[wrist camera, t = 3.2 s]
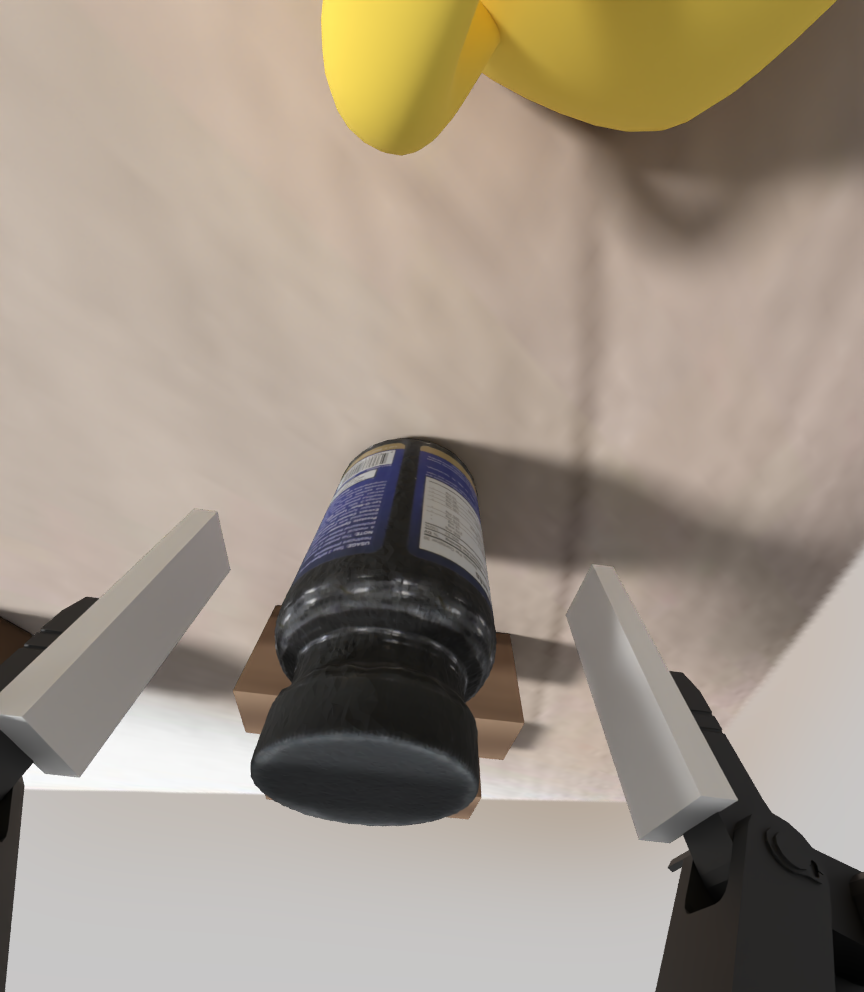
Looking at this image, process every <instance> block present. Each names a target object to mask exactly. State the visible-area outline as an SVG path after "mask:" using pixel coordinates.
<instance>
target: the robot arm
mask: <svg viewBox="0 0 864 992" xmlns="http://www.w3.org/2000/svg"><path fill="white" fill-rule="evenodd" d="M229 571H230V565H229V561H228V557H227V552H226V548H225V543H224V539H223V534H222V530H221V525H220V521H219V517H218V512H216V511H209V510H202V509H194V510H192V511H191V512H190V513H189V514H188V515H187V516H186V517H185V518H184V519H183V520H182V521H181V522H180V523H179V524H178V525H177V526H176V527H175V528H173V529H172V530H171V531H170V532H169V533H168V534H167V535H166V536H165V537H164V538H163V539H162V540H161V541H160V542H159V543H158V544H157V545H155V546H154V547H153V548H152V549H151V550H150V551H149V552H148V553H147V554H146V555H145V556H144V557H143V558H142V559H141V560H140V561H139V562H137V563H136V564H135V565H134V566H133V567H132V568H131V569H130V570H129V571H128V572H127V573H126V574H125V575H124V576H123V577H122V578H121V579H119V580H118V581H117V582H116V583H115V584H114V585H113V586H112V587H111V588H110V589H109V590H108V591H107V592H106V593H105V594H104V595H103V596H102V597H100V598H93V597H85V598H83V599H82V600H80V601H78V602H76V603H74V604H73V605H71V606H69V607H67V608H66V609H64V610H62V611H61V612H60V613H59V614H57V615H56V616H55V617H54V618H53V619H52V620H51V621H49V622H48V623H47V624H46V625H45V626H44V627H43V628H42V629H41V631H40V632H39V633H36V634H35V635H34V636H33V637H31V638H30V639H29V640H28V641H27V642H26V643H25V644H24V647H23V648H19V649H18V650H17V651H16V652H14V653H13V654H12V655H11V656H10V657H9V658H8V659H7V660H5V661H4V662H3V663H2V664H1V665H0V992H5V983H6V974H7V962H8V953H9V952H8V951H9V942H10V932H11V921H12V911H13V900H14V890H15V879H16V868H17V858H18V848H19V837H20V827H21V815H22V806H23V795H24V782H23V778H22V775H23V774H24V773H25V772H26V770H27V769H28V768H29V767H30V766H31V765H32V763H34V764H35V765H36V766H37V767H38V768H39V769H41V770H42V771H43V772H44V773H45V774H52V775H61V776H70V777H79V778H80V776H81V775H82V774H83V772H84V771H85V769H86V768H87V767H88V765H89V764H90V763H91V761H92V760H93V758H94V757H95V756H96V754H97V753H98V751H99V750H100V749H101V747H102V746H103V745H104V743H105V742H106V740H107V739H108V738H109V736H110V735H111V734H112V732H113V731H114V729H115V728H116V727H117V725H118V724H119V723H120V721H121V720H122V718H123V717H124V716H125V714H126V713H127V712H128V710H129V709H130V707H131V706H132V705H133V703H134V702H135V701H136V699H137V698H138V696H139V695H140V694H141V692H142V691H143V690H144V688H145V687H146V685H147V684H148V683H149V681H150V680H151V679H152V677H153V676H154V674H155V673H156V672H157V670H158V669H159V668H160V666H161V665H162V663H163V662H164V661H165V659H166V658H167V657H168V655H169V654H170V652H171V651H172V650H173V648H174V647H175V646H176V644H177V643H178V641H179V640H180V639H181V637H182V636H183V635H184V633H185V632H186V630H187V629H188V628H189V626H190V625H191V624H192V622H193V621H194V619H195V618H196V617H197V615H198V614H199V613H200V611H201V610H202V608H203V607H204V606H205V604H206V603H207V602H208V600H209V599H210V597H211V596H212V595H213V593H214V592H215V591H216V589H217V588H218V586H219V585H220V584H221V582H222V581H223V580H224V578H225V577H226V575H227V574H228V573H229ZM566 617H567V620H568V623H569V626H570V629H571V632H572V635H573V638H574V641H575V645H576V648H577V651H578V654H579V657H580V660H581V663H582V666H583V669H584V672H585V675H586V678H587V681H588V684H589V688H590V691H591V694H592V697H593V700H594V703H595V706H596V709H597V712H598V715H599V718H600V721H601V724H602V727H603V731H604V734H605V737H606V740H607V743H608V746H609V749H610V752H611V755H612V758H613V761H614V764H615V767H616V770H617V774H618V777H619V780H620V783H621V786H622V789H623V792H624V795H625V798H626V801H627V804H628V807H629V810H630V813H631V816H632V819H633V823H634V826H635V829H636V832H637V835H638V838H639V840H645V841H654V842H664V843H671V842H673V841H674V840H676V839H677V838H679V837H680V836H682V835H683V836H684V838H685V841H686V843H687V845H688V848H689V850H688V851H687V852H685V853H683V854H681V855H680V856H678V857H677V858H675V859H673V860H672V861H671V863H670V865H669V866H668V868H669V869H670V870H671V871H672V872H674V871H676V870H678V869H679V868H681V867H682V870H681V874H680V879H679V884H678V888H677V893H676V898H675V902H674V907H673V912H672V916H671V921H670V926H669V931H668V935H667V940H666V945H665V949H664V954H663V959H662V963H661V968H660V973H659V978H658V982H657V987H656V991H655V992H864V872H861V871H859V870H857V869H854V868H852V867H850V866H848V865H846V864H844V863H842V862H840V861H838V860H836V859H833V858H832V857H829V856H827V855H825V854H823V853H821V852H819V851H817V850H815V849H813V848H812V847H811V846H810V844H809V843H808V842H807V841H806V840H805V838H804V837H803V836H802V835H801V834H800V833H799V832H798V831H797V830H796V829H794V828H793V827H792V826H791V825H790V824H789V823H788V822H786V821H785V820H783V819H781V818H780V817H778V816H776V815H775V814H773V813H772V812H771V811H770V810H769V808H768V806H767V805H766V803H765V802H764V800H763V799H762V797H761V796H760V794H759V792H758V790H757V789H756V787H755V785H754V784H753V782H752V780H751V778H750V777H749V775H748V773H747V771H746V770H745V768H744V766H743V765H742V763H741V761H740V759H739V758H738V756H737V754H736V752H735V751H734V749H733V747H732V746H731V744H730V742H729V740H728V739H727V737H726V735H725V734H723V733H722V728H721V727H720V725H719V723H718V722H717V720H716V718H715V716H712V711H711V710H710V708H709V706H708V704H707V703H706V701H705V699H704V697H703V696H702V694H701V692H700V691H699V690H698V689H697V688H696V687H695V685H694V684H693V683H692V682H691V681H690V680H689V679H688V678H687V677H686V676H685V675H684V674H683V673H681V672H673V671H669V670H668V668H667V666H666V665H665V663H664V661H663V659H662V657H661V655H660V653H659V651H658V650H657V648H656V646H655V644H654V642H653V640H652V638H651V636H650V635H649V633H648V631H647V629H646V627H645V625H644V623H643V622H642V620H641V618H640V616H639V614H638V612H637V610H636V608H635V607H634V605H633V603H632V601H631V599H630V597H629V595H628V593H627V592H626V590H625V588H624V586H623V584H622V582H621V580H620V578H619V577H618V575H617V573H616V571H615V569H614V567H612V566H605V565H597V564H592V565H591V567H590V569H589V571H588V573H587V575H586V577H585V579H584V581H583V582H582V584H581V586H580V588H579V590H578V592H577V594H576V596H575V598H574V600H573V602H572V604H571V606H570V607H569V609H568V611H567V613H566Z"/></svg>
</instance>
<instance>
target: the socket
mask: <svg viewBox="0 0 864 992" xmlns="http://www.w3.org/2000/svg"><path fill="white" fill-rule="evenodd" d="M280 609H281V606H275V608H274V610H273V612H272V614H271V616H270V618H269V620H268V622H267V624H266V626H265V628H264V630H263V632H262V634H261V636H260V638H259V640H258V642H257V644H256V646H255V648H254V650H253V652H252V654H251V656H250V658H249V660H248V662H247V664H246V666H245V668H244V670H243V672H242V674H241V676H240V678H239V680H238V682H237V684H236V686H235V688H234V690H233V693H234V696H235V699H236V702H237V705H238V709H239V712H240V715H241V718H242V722H243V725H244V728H245V731H246V732H247V733H257V734H261V731H262V729H263V726H264V724H265V721H266V717H267V715H268V712H269V710H270V708H271V706H272V703H273V702H274V701H275V698H276V697H277V696H278V695H279V693H280V691H281V690H282V689H284V688H286V687H289V686H290V685H291V682H290V680H289V679H288V678H287V677H286V675H285V674H284V672H283V670H282V668H281V666H280V663H279V660H278V657H277V654H276V648H275V637H274V636H275V627H276V620H277V616H278V614H279V611H280ZM496 641H497V644H496V654H495V661H494V664H493V667H492V670H491V671H490V675H489V677H488V678H487V679H486V681H485V682H484V685H483V686H482V688H480V690H479V691H478V692H477V693H476V695H475V696H474V697H472V698H471V699H470V700H469V701H467V702H466V704H467V706H468V707H469V709H470V711H471V712H472V714H473V716H474V718H475V721H476V727H477V730H478V754H479V757H480V758H489V759H499V760H503V759H504V758H505V756H506V754H507V752H508V751H509V749H510V747H511V746H512V744H513V742H514V740H515V739H516V737H517V735H518V733H519V732H520V730H521V728H522V727H523V725H524V718H523V712H522V706H521V700H520V694H519V687H518V681H517V675H516V669H515V663H514V657H513V650H512V644H511V638H510V634H504V633H496ZM479 774H480V766H479ZM265 796H266V795H265ZM266 799H269V800H272V799H271V798H269V797H268V796H266ZM480 799H481V783H480V780H479V790H478V793H477V795H476V797H475V799H474V800H473V802H471V803H470V804H469V806H468V807H466V808H465V809H463V810H461V811H459V812H458V813H457V814H453V815H451V816H449V817H450V818H460V819H469V818H470V816H471V814H472V813H473V811H474V809H475V807H476V806H477V804H478V802H479V801H480Z"/></svg>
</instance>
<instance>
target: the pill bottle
mask: <svg viewBox="0 0 864 992" xmlns="http://www.w3.org/2000/svg"><path fill="white" fill-rule="evenodd" d="M274 637H275V648H276V654H277V657H278V660H279V663H280V666H281V668H282V670H283V672H284V674H285V675H286V677H287V678H288V679H289V680H290V682H291V685H290V686H289V687H286V688H284V689H282V690H281V691H280V693H279V695H278V696H277V697H276V698H275V701H274V702H273V703H272V706H271V708H270V710H269V712H268V715H267V717H266V721H265V724H264V726H263V729H262V731H261V734H260V737H259V740H258V743H257V746H256V748H255V750H254V754H253V757H252V760H251V778H252V779H253V781H254V784H255V785H256V786H257V787H258V788H259V789H260V790H261V792H263V793H264V794H265V795H266V796H268V797H269V798H271V799H272V800H274V801H275V802H278V803H280V804H281V805H283V806H286V807H289V808H290V809H293V810H296V811H298V812H301V813H303V814H305V815H309V816H313V817H317V818H321V819H325V820H330V821H337V822H342V823H348V824H361V825H367V826H402V825H412V824H421V823H426V822H432V821H434V820H439V819H441V818H444V817H449V816H451V815H453V814H457V813H458V812H459V811H461V810H463V809H465V808H466V807H468V806H469V804H470V803H471V802H473V800H474V799H475V797H476V795H477V793H478V790H479V780H480V774H479V754H478V730H477V727H476V721H475V718H474V716H473V714H472V712H471V711H470V709H469V707H468V706H467V704H466V702H467V701H469V700H470V699H471V698H472V697H474V696H475V695H476V693H477V692H478V691H479V690H480V688H482V686H483V685H484V682H485V681H486V679H487V678H488V677H489V675H490V671H491V670H492V667H493V664H494V661H495V654H496V644H497V641H496V630H495V625H494V617H493V610H492V602H491V596H490V588H489V581H488V573H487V566H486V559H485V551H484V544H483V536H482V529H481V522H480V514H479V507H478V500H477V491H476V487H475V484H474V480H473V478H472V476H471V474H470V472H469V471H468V469H467V468H466V466H465V465H464V464H463V463H462V462H461V461H460V460H459V458H458V457H456V456H455V454H454V453H452V452H451V451H449V450H447V449H445V448H443V447H441V446H439V445H437V444H434V443H431V442H426V441H421V440H416V439H401V438H400V439H393V440H387V441H384V442H381V443H378V444H375V445H373V446H371V447H369V448H368V449H366V450H365V451H363V452H362V453H361V454H360V455H359V456H357V457H356V458H355V459H354V460H353V461H352V462H351V463H350V464H349V466H348V468H347V469H346V471H345V473H344V475H343V476H342V479H341V482H340V484H339V486H338V488H337V490H336V493H335V495H334V497H333V499H332V501H331V503H330V505H329V507H328V509H327V512H326V514H325V516H324V518H323V520H322V522H321V524H320V527H319V529H318V531H317V533H316V535H315V537H314V539H313V541H312V543H311V546H310V548H309V550H308V552H307V554H306V556H305V558H304V560H303V562H302V564H301V566H300V568H299V571H298V573H297V575H296V577H295V579H294V582H293V584H292V586H291V588H290V590H289V591H288V593H287V595H286V598H285V600H284V602H283V604H282V606H281V609H280V611H279V614H278V616H277V620H276V627H275V636H274Z"/></svg>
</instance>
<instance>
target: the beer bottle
mask: <svg viewBox="0 0 864 992" xmlns="http://www.w3.org/2000/svg"><path fill="white" fill-rule="evenodd" d="M31 637H32V635H31V634H30V633H28V632H26V631H24V630H23V629H21V628H19V627H17V626H15V625H13V624H12V623H10V622H8V621H6V620H4V619H2V618H1V617H0V665H1V664H2V663H3V662H4V661H5V660H7V659H8V658H9V657H10V656H11V655H12V654H13V653H14V652H16V651H17V650H18V649H19V648H23V647H24V644H25V643H26V642H27V641H28V640H29V639H30V638H31Z"/></svg>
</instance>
